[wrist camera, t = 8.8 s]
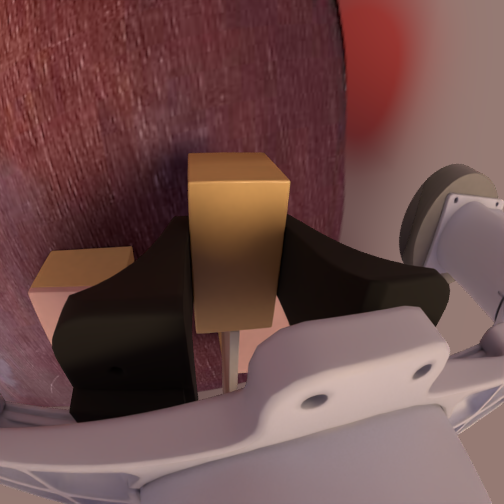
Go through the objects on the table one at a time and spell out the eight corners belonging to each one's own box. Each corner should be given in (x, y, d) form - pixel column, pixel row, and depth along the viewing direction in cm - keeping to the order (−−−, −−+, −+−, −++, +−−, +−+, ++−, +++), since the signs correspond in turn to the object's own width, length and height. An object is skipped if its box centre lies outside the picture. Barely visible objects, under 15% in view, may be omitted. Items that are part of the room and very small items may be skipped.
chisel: (188, 153, 11) (187, 182, 8) (264, 152, 12) (291, 180, 9) (202, 386, 19) (207, 431, 16) (246, 382, 20) (256, 426, 17)
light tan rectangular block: (277, 238, 21) (299, 279, 17) (266, 324, 25) (281, 368, 21) (216, 241, 20) (225, 284, 16) (217, 329, 24) (225, 375, 20)
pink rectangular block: (132, 245, 19) (121, 290, 15) (149, 333, 23) (147, 379, 19) (50, 250, 18) (27, 292, 14) (80, 334, 22) (69, 378, 18)
